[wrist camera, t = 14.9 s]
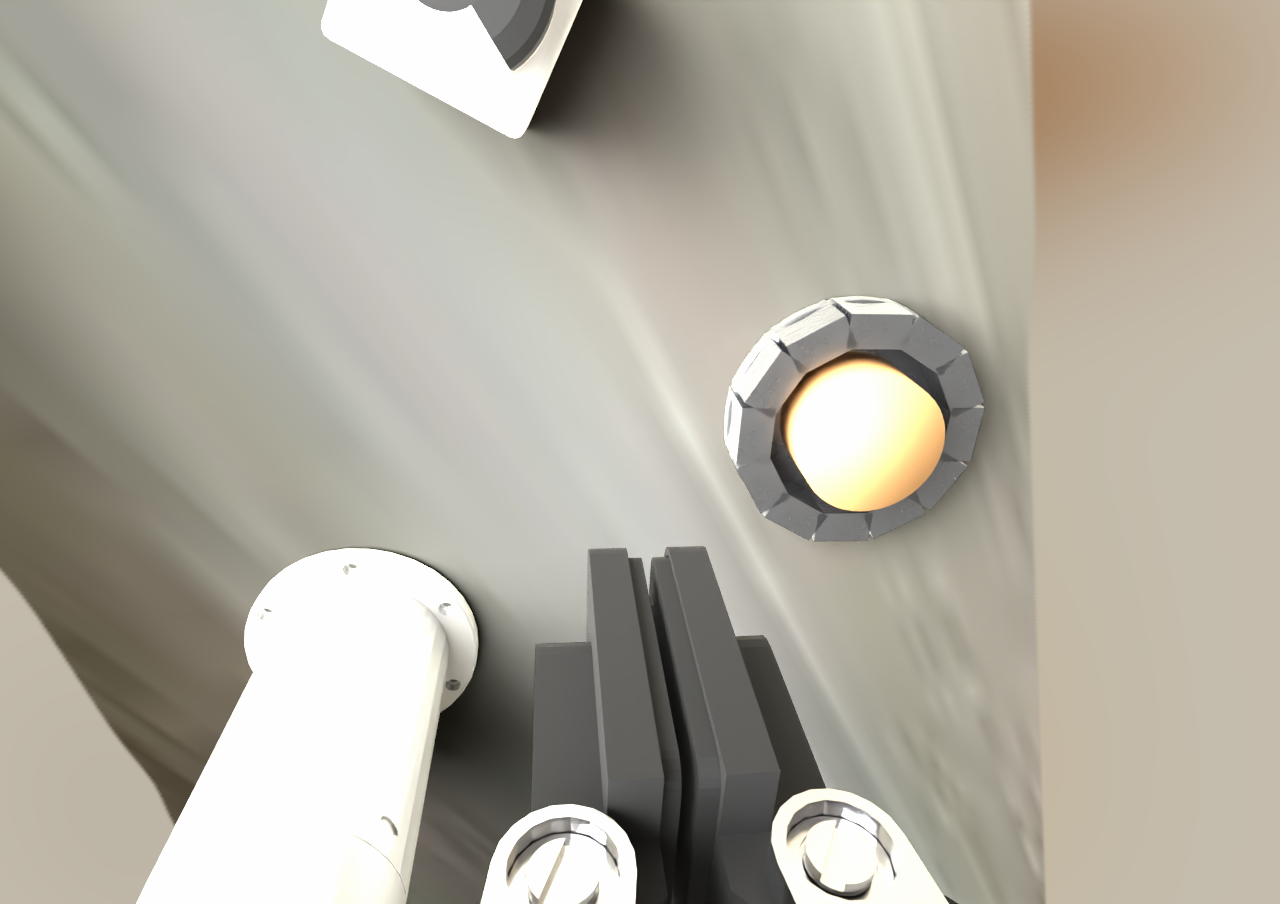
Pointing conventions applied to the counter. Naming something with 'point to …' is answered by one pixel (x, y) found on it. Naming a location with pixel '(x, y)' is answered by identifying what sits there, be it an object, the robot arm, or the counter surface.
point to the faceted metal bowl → (813, 344)
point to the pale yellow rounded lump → (862, 432)
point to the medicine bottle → (461, 49)
